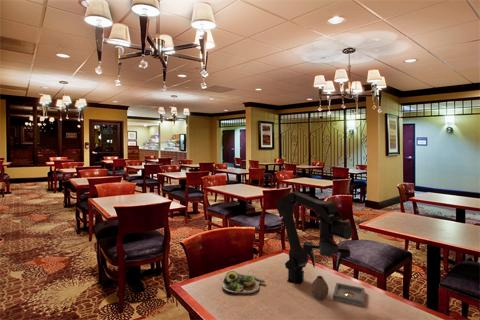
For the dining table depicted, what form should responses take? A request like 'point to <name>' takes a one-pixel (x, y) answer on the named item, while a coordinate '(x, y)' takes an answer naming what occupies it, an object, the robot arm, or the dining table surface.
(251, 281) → the salad plate
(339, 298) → the grey square tray
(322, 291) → the vase
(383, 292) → the dining table surface
